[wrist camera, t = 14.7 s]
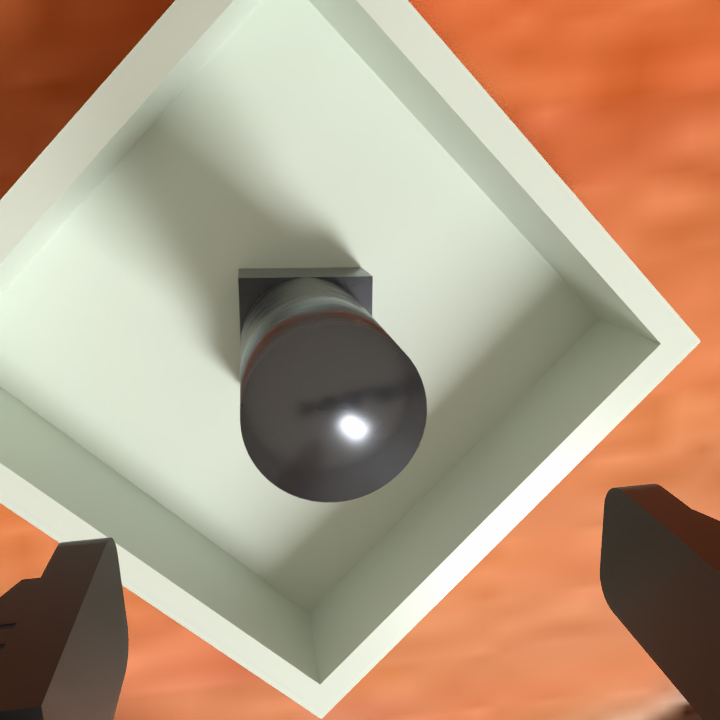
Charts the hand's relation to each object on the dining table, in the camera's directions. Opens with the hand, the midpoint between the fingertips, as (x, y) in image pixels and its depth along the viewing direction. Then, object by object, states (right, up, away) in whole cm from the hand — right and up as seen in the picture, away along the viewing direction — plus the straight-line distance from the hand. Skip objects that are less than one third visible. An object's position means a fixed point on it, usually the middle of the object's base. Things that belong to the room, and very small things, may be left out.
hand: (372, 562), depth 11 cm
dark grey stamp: (-2, +4, +13) cm, 14 cm away
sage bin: (-3, +4, +14) cm, 15 cm away
